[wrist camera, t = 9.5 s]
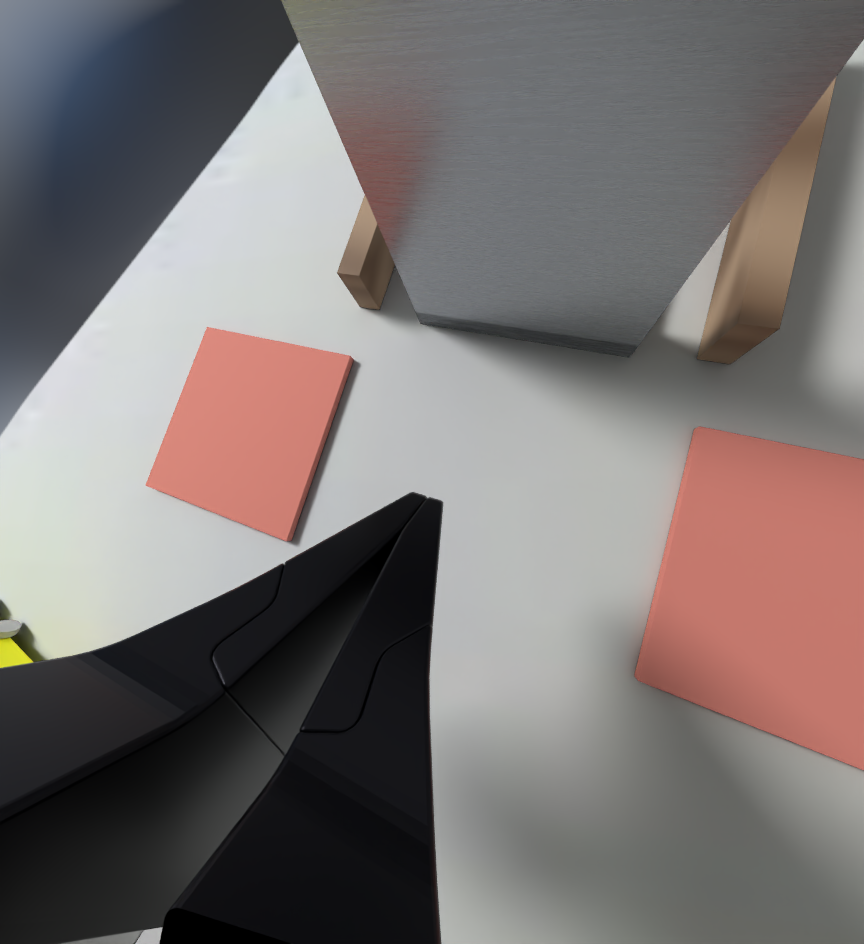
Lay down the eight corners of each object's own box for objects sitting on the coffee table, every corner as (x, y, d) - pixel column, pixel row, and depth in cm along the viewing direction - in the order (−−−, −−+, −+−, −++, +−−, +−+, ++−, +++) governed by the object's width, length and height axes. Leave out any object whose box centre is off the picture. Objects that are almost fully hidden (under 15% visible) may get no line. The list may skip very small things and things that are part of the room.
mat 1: (291, 540, 16) (286, 541, 16) (152, 486, 19) (145, 485, 19) (353, 359, 17) (350, 355, 17) (212, 330, 20) (206, 327, 20)
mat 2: (996, 818, 10) (1016, 830, 9) (634, 675, 12) (637, 680, 12) (1041, 500, 11) (1061, 499, 10) (694, 429, 13) (699, 426, 13)
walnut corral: (730, 364, 13) (779, 328, 11) (359, 306, 18) (337, 272, 15) (801, 61, 15) (860, -32, 12) (439, 79, 19) (429, 15, 17)
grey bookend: (629, 357, 14) (979, -119, 4) (420, 324, 17) (274, -15, 6) (691, 124, 15) (1107, -776, 5) (486, 125, 18) (456, -455, 7)
